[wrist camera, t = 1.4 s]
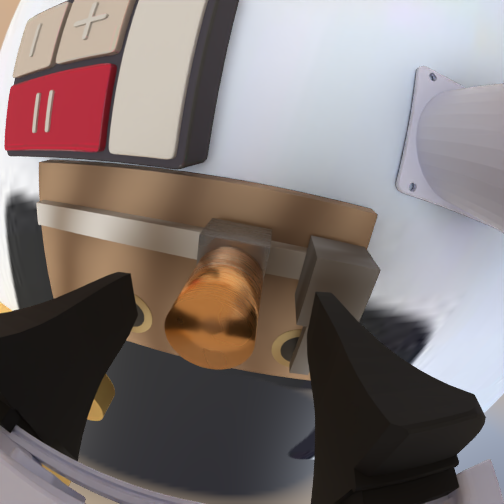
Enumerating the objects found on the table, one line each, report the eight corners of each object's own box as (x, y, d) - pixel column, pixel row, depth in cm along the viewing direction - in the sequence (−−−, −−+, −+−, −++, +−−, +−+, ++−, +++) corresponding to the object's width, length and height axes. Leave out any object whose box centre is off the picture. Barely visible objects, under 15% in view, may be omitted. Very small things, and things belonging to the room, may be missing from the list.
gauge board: (371, 209, 15) (402, 237, 11) (311, 369, 20) (315, 417, 16) (49, 159, 15) (3, 172, 11) (64, 307, 21) (35, 337, 16)
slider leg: (272, 225, 14) (265, 302, 8) (245, 348, 18) (229, 439, 11) (215, 214, 14) (164, 280, 8) (201, 339, 18) (170, 426, 11)
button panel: (23, 15, 8) (224, -41, 7) (60, 24, 12) (241, -5, 11) (-2, 158, 12) (177, 173, 11) (38, 149, 16) (207, 164, 15)
